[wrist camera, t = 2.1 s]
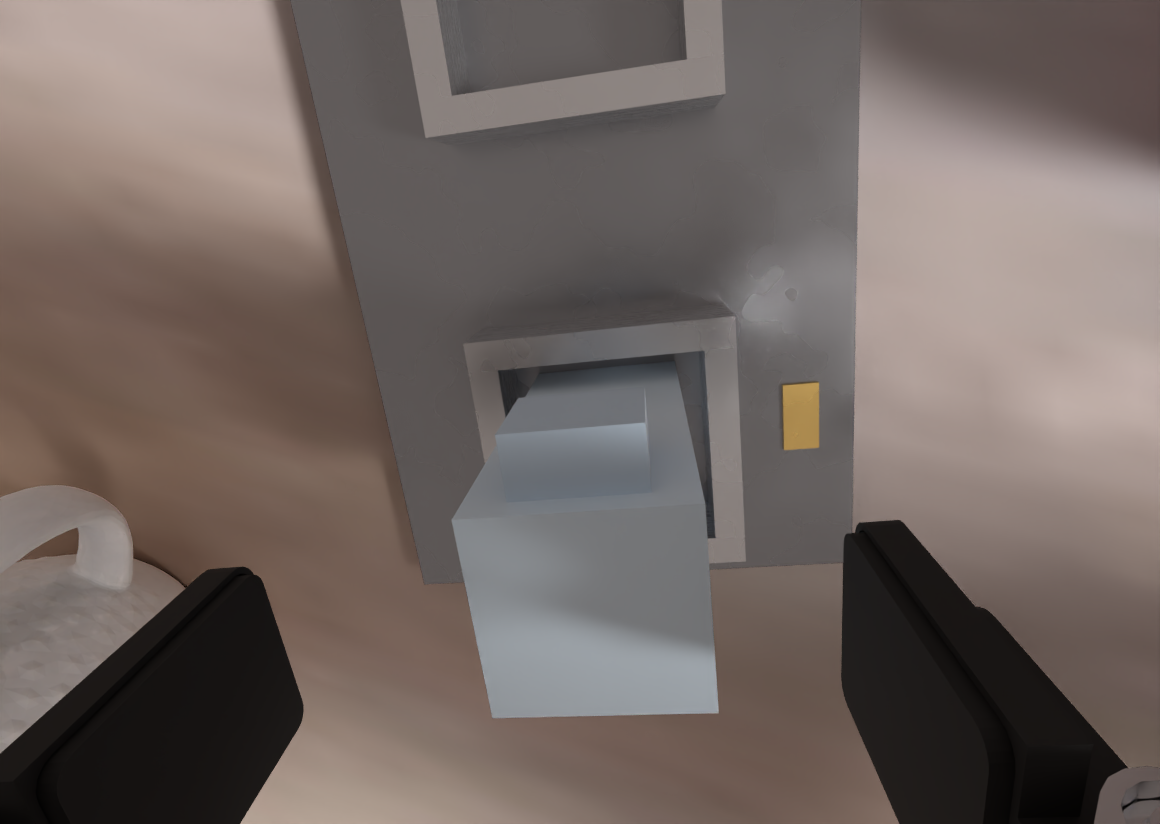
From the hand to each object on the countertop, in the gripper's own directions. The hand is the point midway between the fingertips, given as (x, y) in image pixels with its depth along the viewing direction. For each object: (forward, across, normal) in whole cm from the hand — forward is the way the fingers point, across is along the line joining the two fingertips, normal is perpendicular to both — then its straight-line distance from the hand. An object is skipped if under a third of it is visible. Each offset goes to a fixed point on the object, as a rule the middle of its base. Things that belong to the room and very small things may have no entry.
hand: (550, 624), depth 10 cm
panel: (+10, -1, -6) cm, 12 cm away
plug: (+9, -1, 0) cm, 9 cm away
